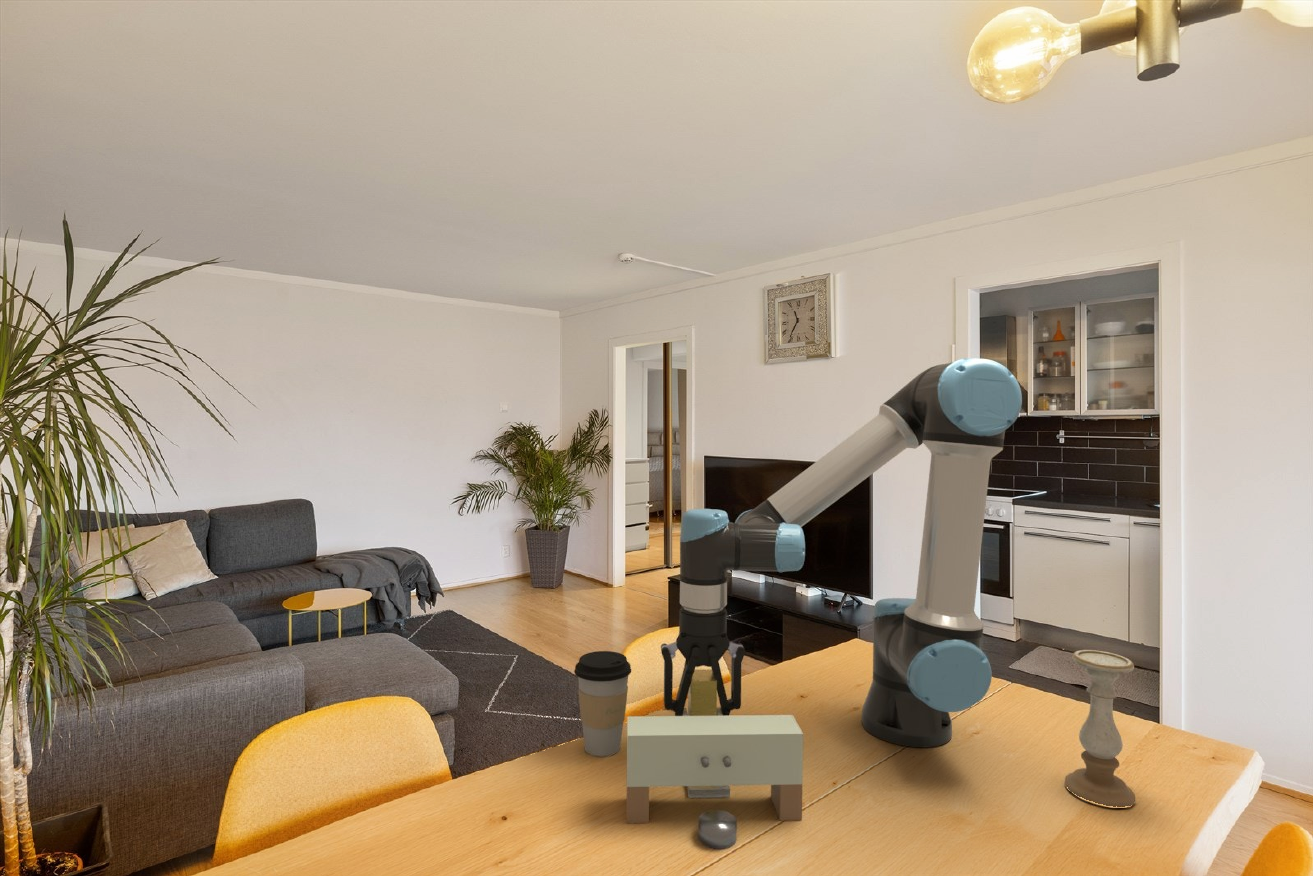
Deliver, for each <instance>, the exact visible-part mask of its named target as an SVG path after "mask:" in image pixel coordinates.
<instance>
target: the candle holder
mask: <svg viewBox="0 0 1313 876" xmlns="http://www.w3.org/2000/svg"><path fill="white" fill-rule="evenodd" d="M1072 661H1073V662H1074V663H1076V664H1077V665H1078V666H1081V667H1084V668H1085V672H1086V674H1087V675H1088V676H1089V677H1090V680H1091V681H1090V685H1089V686H1088V687H1086V690H1085V691H1086V692H1087V693H1088V694H1089V696H1090V701H1089V702H1090V705H1089V712H1088V716H1087V718H1086V720H1085V721H1084V722H1083V724H1082V726H1081V728H1080V730H1079V733H1078V739H1079V742H1080V745H1081V746H1082V748H1083V749H1084V751H1082V752H1081V754H1080V757H1081V759H1082V761H1083V763H1084V765H1085V767H1084V768H1083V767H1082V768H1077V769H1075V770H1074V771H1073V772H1070V773H1068V774H1067V775H1066V776H1065V777H1064V786H1065V785H1066V786H1065V788H1066V787H1068V789H1069V790H1070V791H1071V792H1073V793H1074V794H1076V795H1077V796H1079V797H1082V798H1084V799H1086V800H1089V801H1093V802H1095V803H1098V804H1103V805H1106V806H1113V807H1116V806H1117V807H1125V806H1131V805H1132V804H1134V802H1135V803H1136V794H1135V793H1134V791H1133V790H1132V788H1130V786H1128V785H1127V784H1126V782H1125V781H1124V780H1123V779H1121V778H1120V777H1118V776H1116V775H1114V774H1115V773H1114V772H1115V771H1116V770H1117V768H1119V767H1120V765H1121V764H1120V762H1119V760H1118V758H1116V757H1117V756H1119V754H1121V752H1122V750H1123V740H1122V737H1121V734H1120V731H1119V729H1118V728H1117V724H1116V722H1115V720H1114V711H1113V709H1114V708H1113V707H1114V706H1113V704H1114V699H1116V698H1117V697H1118V693H1117V692H1116V690H1115V688H1114V682H1116V680H1118V679H1119V678H1120V674H1128V673H1131V672H1133V671H1134V669H1135V665H1134V663H1133V661H1132V660H1131V659H1129V658H1127V657H1125V656H1122V655H1120V654H1116V653H1113V652H1108V651H1105V650H1104V651H1102V650H1095V649H1080V650H1076V651H1074V652H1073V654H1072ZM1134 805H1135V804H1134Z"/></svg>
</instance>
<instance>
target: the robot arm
mask: <svg viewBox="0 0 1313 876" xmlns="http://www.w3.org/2000/svg"><path fill="white" fill-rule="evenodd" d="M1022 404H1023V396H1022V389H1021V387H1020V384H1019V382H1018V380H1017V378H1016V377H1015V375H1014V374H1012V373H1011V371H1010V370H1009V369H1008V368H1007V367H1006V366H1004V365H1003V364H1001V363H999V362H997V361H995V360H992V359H987V358H962V359H961V358H960V359H958V360H956V361H953V362H948V363H943V364H937V365H934V366H932V367H929V368H927V369H925V370H923V371H922V372H920V373H919V374H917V375H916V376H915V377H914V378H913V379H912V380H910V381H909V382H908V383H907V384H905V385H904V386H903V387H902V388H901V389H899V391H897V392H895V394H894V395H893V396H891V397H890V398H889V399H888V400H887V401H885V402H883V403H882V404H881V405H880V406H879V411H878V414H877V415H875V416H874V417H873V418H872V419H870V420H869V421H868V422H867V423H865V424H864V425H863V426H861V427H860V428H858V430H856V431H855V432H854V433H853V434H851V435H849V436H848V437H847V438H846V439H844V440H842V442H840V443H839V444H838V445H836V446H835V447H834V448H833V449H830V451H829V452H827V453H826V454H825V455H824V456H822V457H821V458H819V459H818V460H817V461H815V462H814V463H813V464H812V465H810V466H808V468H806V469H805V470H804V471H802V472H800V473H799V474H798V475H797V476H795V477H794V478H793V479H792V480H790V481H789V482H788V483H786V484H785V485H784V486H782V487H780V489H779V490H777V491H775V493H773V494H771V495H770V496H769V497H768V498H767V499H766V500H764V501H763V502H761V503H760V504H758V505H757V506H756V507H755V508H754V509H749V510H746V511H743V512H742V513H740V514H739V515H738V517H737V518H736V519H735V522H731V521H730V520H729V516H728V513H727V512H726V511H725V510H722V509H711V508H696V509H695V508H694V509H688V510H687V511H685V512H684V513H683V514H682V515H681V518H680V519H681V520H680V521H681V522H680V537H679V554H680V555H679V561H680V562H679V566H680V567H679V576H680V577H679V605H681V607H680V608H679V617H678V618H679V624H678V627H679V630H678V632H679V633H678V636H677V638H676V640H675V641H674V642H671V643H668V644H667V643H661V645H660V651H661V656H662V659H663V705H664V709H665V711H672V712H674V716H688V707H685V706H686V702H687V700H688V691H689V687H690V684H691V678H692V676H693V673H694V671H695V670H696V668H698V667H702V666H703V667H710V668H711V670H712V672H713V675H714V678H716V680H717V697H718V698H717V699H718V701H719V704H720V705H719V706H720V707H717V716H730V715H731V711H733V710H739V709H741V707H742V662H743V659H744V657H745V654H746V650H745V647H744V646H743V644H742V643H741V642H737V643H734V642H732V641H730V640H729V638H728V635H727V627H728V626H727V622H728V621H727V619H728V618H727V617H728V611H727V609H726V606H727V605H728V571H737V572H738V571H746V572H747V571H749V572H750V571H751V572H752V571H753V572H778V573H783V572H797V571H800V570H801V569H802V568H803V566H804V563H805V559H806V558H805V557H806V541H805V540H806V539H805V534H804V530H803V528H802V527H803V526H805V525H806V524H807V523H809V522H810V521H811V520H812V519H814V518H815V517H817V516H818V515H819V514H820V513H822V512H823V511H826V509H827V508H829V507H830V506H831V505H833V504H834V503H836V502H837V501H838V500H839V499H840V498H842V497H844V496H845V495H846V494H848V493H849V492H850V491H852V490H853V489H854V488H855V487H857V486H858V485H859V484H861V483H862V482H863V481H866V479H867V478H869V477H870V476H871V475H873V474H874V473H875V472H877V471H878V470H879V469H881V468H882V467H883V466H885V465H886V464H888V462H890V461H891V460H892V459H894V458H895V457H897V456H898V455H899V454H900V453H902V452H903V451H904V450H906V449H917V448H918V447H920V446H921V445H922V444H923V445H924V446H925V447H926V448H927V449H928V450H929V452H930V463H929V473H928V483H927V492H926V503H925V512H924V520H923V521H924V522H923V529H922V530H923V531H922V541H921V548H920V559H919V567H918V577H917V587H916V596H915V598H908V597H907V598H904V597H903V598H902V597H897V598H895V597H892V598H890V597H889V598H882V599H879V600H877V601H876V602H875V604H874V606H873V607H874V608H873V609H874V610H873V615H872V620H873V634H872V635H873V636H872V638H873V641H872V642H873V643H872V649H873V652H872V682H871V685H870V687H869V690H868V693H867V696H866V697H865V701H864V703H863V707H862V710H861V724H862V726H863V728H864V729H865V730H866V731H867V732H868V733H869V734H870V735H873V736H874V737H876V738H879V740H882V741H883V740H884V741H886V742H889V743H890V744H891V743H892V744H895V745H900V746H904V747H912V748H931V747H933V748H934V747H938V746H943V745H946V743H949V742H950V740H951V739H952V737H953V722H952V718H951V715H950V713H957V712H958V713H959V712H962V711H966V710H969V709H970V708H971V707H972V706H974V705H976V704H978V703H980V702H981V701H982V700H983V698H984V697H985V696H986V694H987V693H988V692H989V690H990V686H991V682H992V679H993V678H992V677H993V675H992V674H993V673H992V667H991V664H990V661H989V659H988V657H987V655H986V654H985V653H984V651H983V650H982V645H983V644H982V642H983V636H984V635H983V633H984V623H983V622H982V621H981V619H980V618H979V616H977V614H976V612H975V606H976V605H975V604H976V599H977V598H976V596H977V589H978V587H977V586H978V578H979V571H980V570H979V568H980V562H981V560H980V559H981V551H982V541H983V533H984V523H985V522H984V521H985V515H986V506H987V505H986V504H987V497H988V496H987V495H988V488H989V476H990V470H991V469H990V467H991V461H992V459H993V458H994V457H995V456H997V455H998V454H999V453H1000V452H1002V451H1003V450H1004V442H1005V433H1006V430H1007V429H1009V428H1010V427H1011V426H1012V425H1013V424H1014V423H1015V422H1016V421H1017V419H1018V417H1019V415H1020V412H1021V410H1022ZM727 650H728V651H729V652H728V654H729V656H730V658H731V666H730V668H731V669H730V670H731V671H730V672H731V673H730V674H731V675H730V678H731V679H730V681H731V682H730V683H731V684H730V698H728V696H727V693H726V688H725V684H724V680H723V675H722V670H721V666H720V661H721V659H722V657H724V654H726V652H727ZM677 651H679V652H680V654H681V655H682V656H683V657H684V659H685V660H684V666H683V670H682V674H681V677H680V683H679V687H678V690H677V694H676V697H675V699H673V677H674V676H673V674H674V673H673V670H674V667H673V666H674V665H673V659H674V658H676V652H677Z"/></svg>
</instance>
